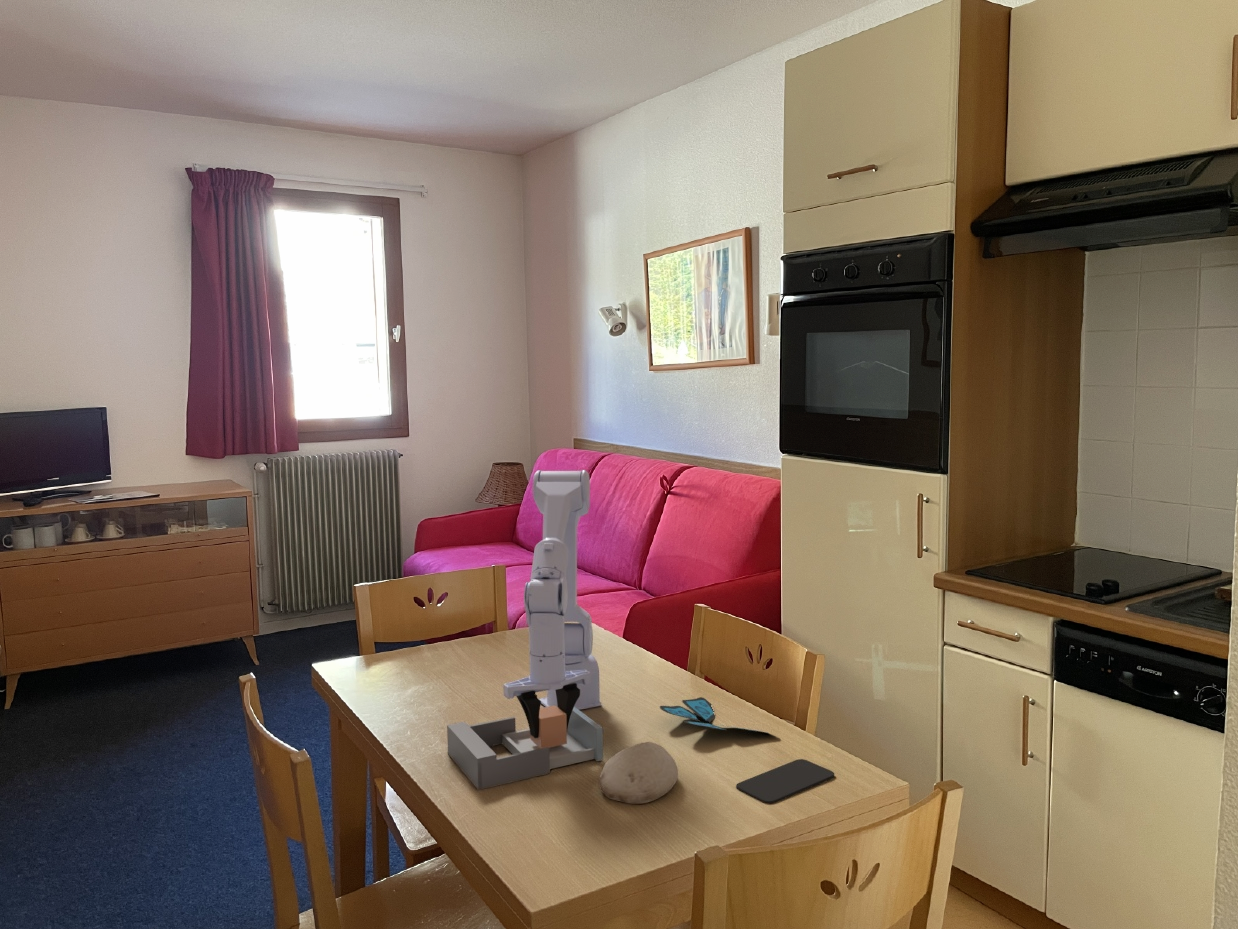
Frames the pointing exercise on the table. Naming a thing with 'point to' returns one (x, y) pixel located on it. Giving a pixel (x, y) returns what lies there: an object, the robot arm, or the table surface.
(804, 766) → the phone
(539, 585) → the robot arm
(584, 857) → the table surface
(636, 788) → the stone
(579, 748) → the tray
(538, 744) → the block
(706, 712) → the decorative butterfly
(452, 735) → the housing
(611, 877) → the table surface
